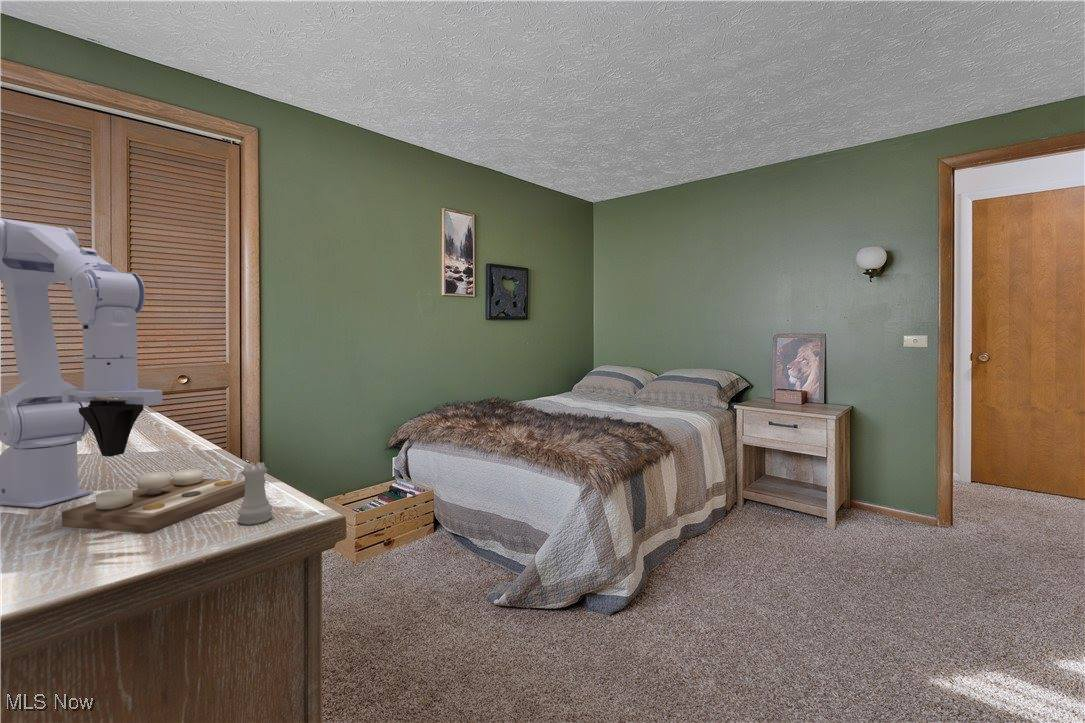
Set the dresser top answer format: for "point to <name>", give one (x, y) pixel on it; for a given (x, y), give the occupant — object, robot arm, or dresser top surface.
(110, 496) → the button near
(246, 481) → the rook chess piece
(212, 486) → the board
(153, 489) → the button mid
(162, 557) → the dresser top surface
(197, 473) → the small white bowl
